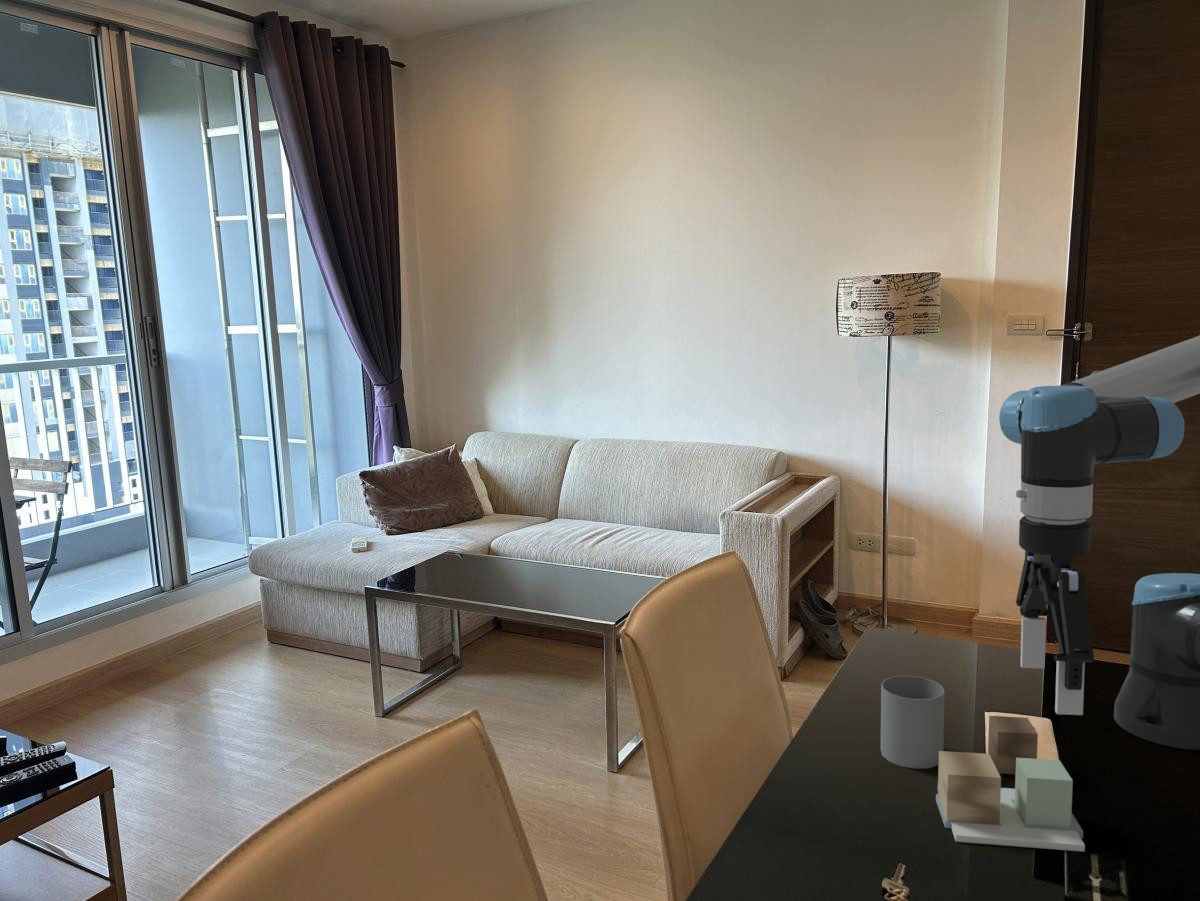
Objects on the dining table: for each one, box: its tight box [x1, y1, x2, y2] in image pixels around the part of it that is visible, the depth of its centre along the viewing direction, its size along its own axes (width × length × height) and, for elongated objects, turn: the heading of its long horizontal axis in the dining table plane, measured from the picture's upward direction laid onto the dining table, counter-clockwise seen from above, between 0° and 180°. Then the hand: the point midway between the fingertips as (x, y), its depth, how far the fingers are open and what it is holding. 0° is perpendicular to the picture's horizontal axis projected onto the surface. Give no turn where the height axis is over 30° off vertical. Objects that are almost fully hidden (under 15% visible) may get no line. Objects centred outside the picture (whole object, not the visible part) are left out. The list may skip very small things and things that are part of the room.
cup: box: [880, 675, 946, 770], centre depth 125 cm, size 8×8×10 cm
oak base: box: [937, 750, 1002, 825], centre depth 109 cm, size 6×6×6 cm
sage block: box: [1014, 758, 1074, 828], centre depth 107 cm, size 5×5×6 cm
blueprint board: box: [935, 787, 1086, 853], centre depth 108 cm, size 15×12×1 cm
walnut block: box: [987, 715, 1039, 775], centre depth 121 cm, size 5×5×6 cm
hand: (1049, 689), depth 107 cm, fingers open, 13 cm apart
